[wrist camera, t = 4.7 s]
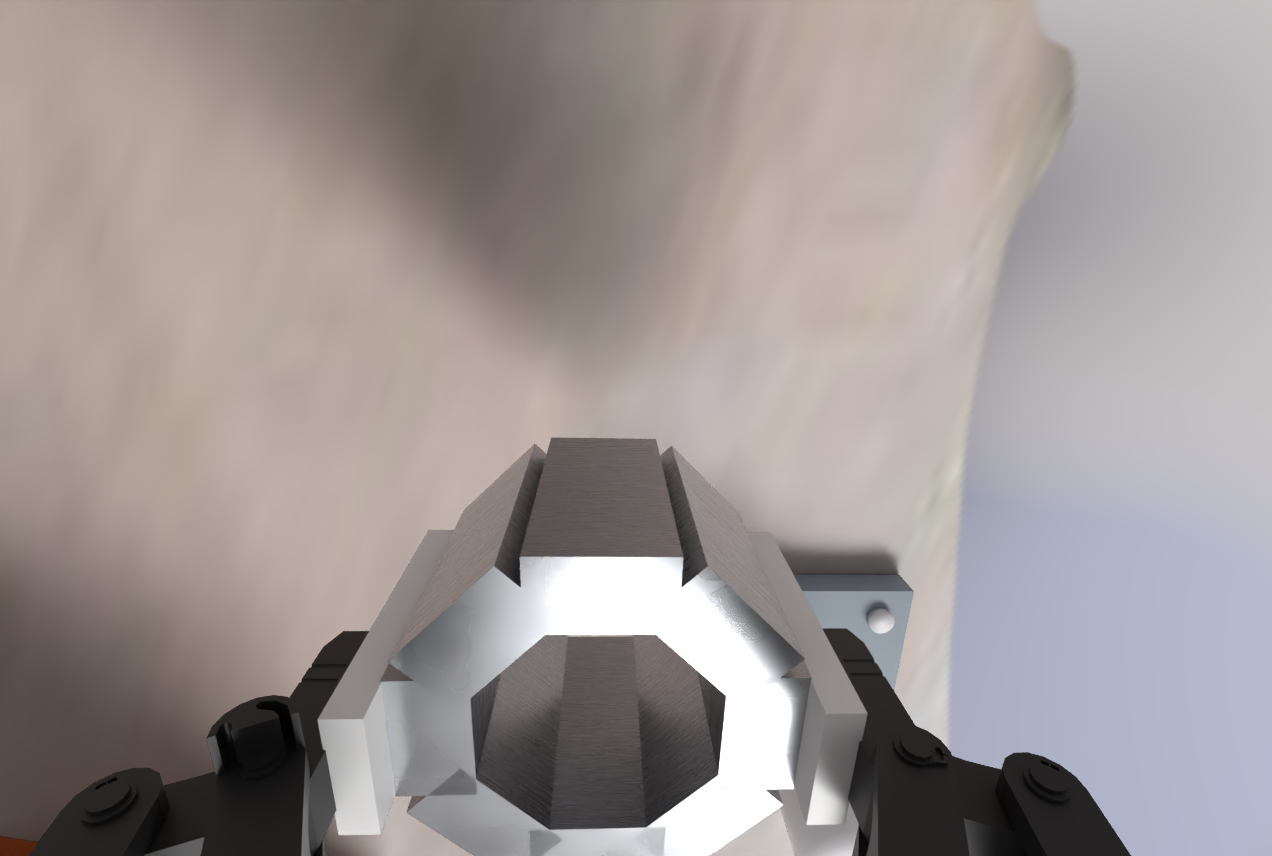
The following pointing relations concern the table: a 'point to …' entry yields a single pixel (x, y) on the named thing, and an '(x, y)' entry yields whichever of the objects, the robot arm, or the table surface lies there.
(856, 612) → the shaft block
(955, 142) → the table surface
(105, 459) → the table surface
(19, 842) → the book
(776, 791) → the hub
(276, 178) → the table surface
